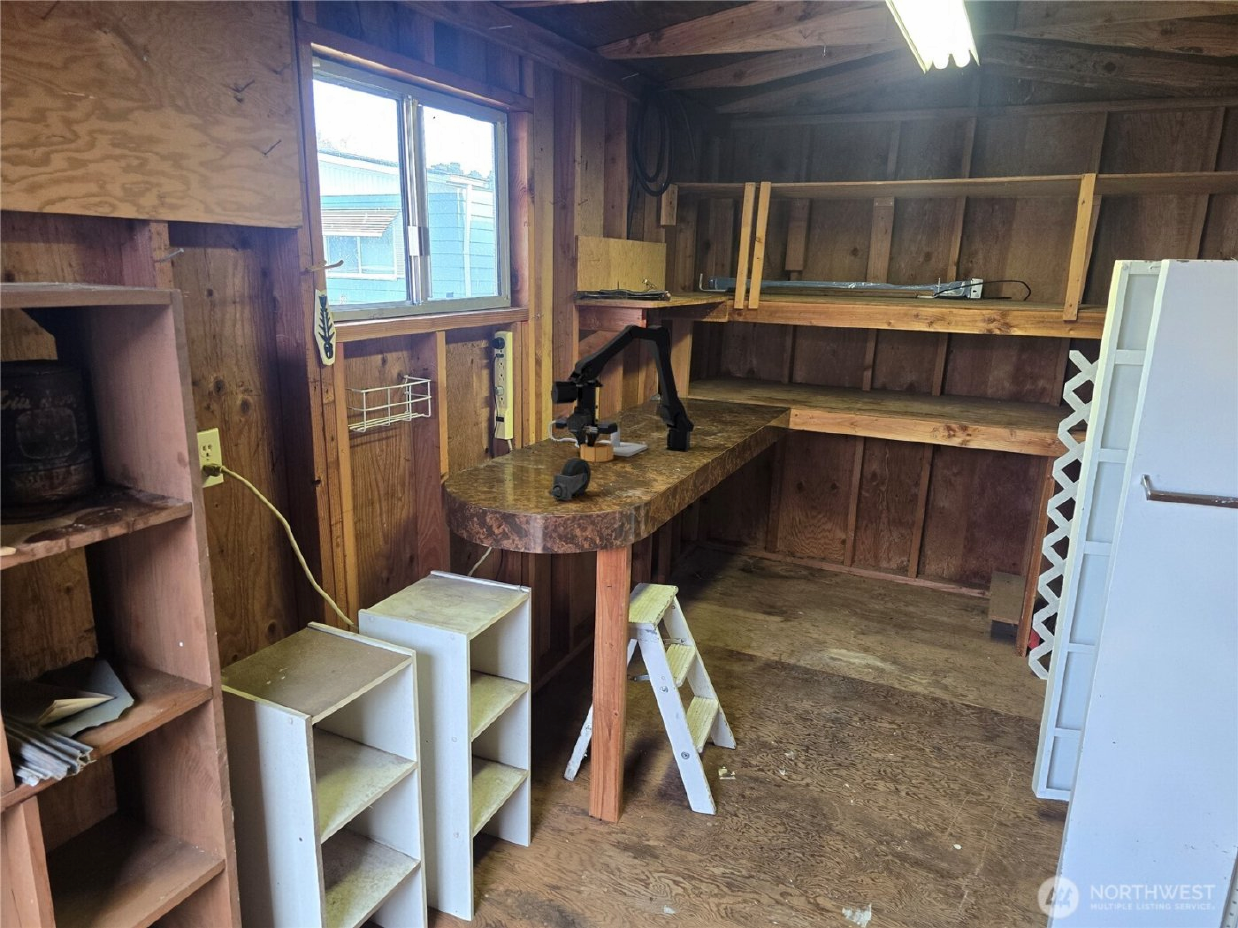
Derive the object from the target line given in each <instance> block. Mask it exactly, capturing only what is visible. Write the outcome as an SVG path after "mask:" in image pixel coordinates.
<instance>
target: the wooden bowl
mask: <svg viewBox="0 0 1238 928" xmlns="http://www.w3.org/2000/svg"><path fill="white" fill-rule="evenodd" d="M580 459H583V460H586V461H587V462H596V463H598V462H599V463H600V462H608V461H611V460H614V455H613V445H612V444H610V443H603V442H599V441H596V442H595V444H594V446H593V447H588V446H587V443H584V444H581V450H580Z"/></svg>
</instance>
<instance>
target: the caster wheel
mask: <svg viewBox="0 0 1238 928" xmlns="http://www.w3.org/2000/svg"><path fill="white" fill-rule="evenodd" d="M591 472H592V471H591V467H590V464H589V462H588V461H586V460H583V459H581V458H578V457H572V458H570V459H568V460H567V461H566V462H565V463H564V465H563V468H562V470H561V472H560V473H557V474H556V473H555V474H553V481H552V489H551V490H548V495H549V496H552V495H553V498H554V499H555V498H557V499H556V500H560V499H562V500H561V501H566V502H567V501H568V502H569V501H572V495H574V496H580V495H582V494H584V493H586V491H587V489H588V487H589V484H590V482H591V475H592V473H591Z"/></svg>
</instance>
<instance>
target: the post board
mask: <svg viewBox="0 0 1238 928" xmlns="http://www.w3.org/2000/svg"><path fill="white" fill-rule="evenodd" d="M598 442H603V443H610V444H612V445H613V456H621V457H627V458H628V457H631V456H633V455H636V454H637V453H641V452H642V451H644V450H647V449H648V445H647V444H640V443H632V442H623V441H621V429H620V428H618V432H615V433H612V434H610V440H606V439H602V440H600V441H598Z"/></svg>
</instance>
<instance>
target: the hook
mask: <svg viewBox="0 0 1238 928" xmlns="http://www.w3.org/2000/svg"><path fill="white" fill-rule="evenodd" d="M556 420H557V419H556ZM556 420H552V421H551V422H550V423H549V424H548V427H547V433H548V436H549V438H550V439H551V440H552V439H553V440H552V441H556V440H557V441H558V442H564V441H570V442H575V443H574V446H575V447H576V448H577V449H580V447H579V444H578V442H577V439H576V438H571V437H564V438H560V439H556V438H554V436H553V435H552V432H551V429H552V426H553V424H555V422H556ZM587 441H588V439H586V443H587Z"/></svg>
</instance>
